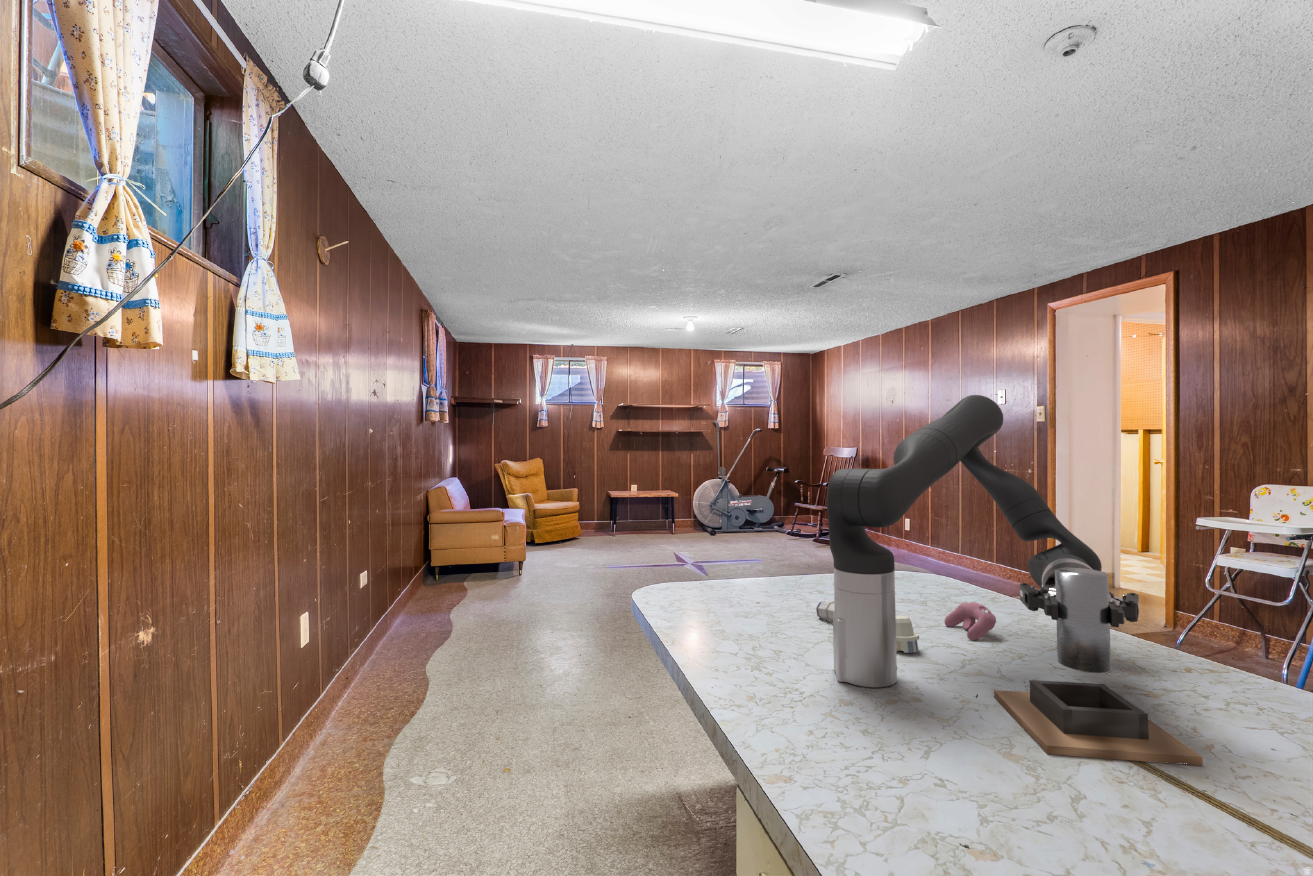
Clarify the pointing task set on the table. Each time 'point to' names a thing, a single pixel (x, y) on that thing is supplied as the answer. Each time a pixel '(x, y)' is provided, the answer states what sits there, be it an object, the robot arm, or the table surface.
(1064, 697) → the wooden board with frame
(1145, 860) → the table surface
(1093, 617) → the grey metal cylinder
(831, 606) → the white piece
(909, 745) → the table surface
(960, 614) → the video game controller
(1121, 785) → the table surface
